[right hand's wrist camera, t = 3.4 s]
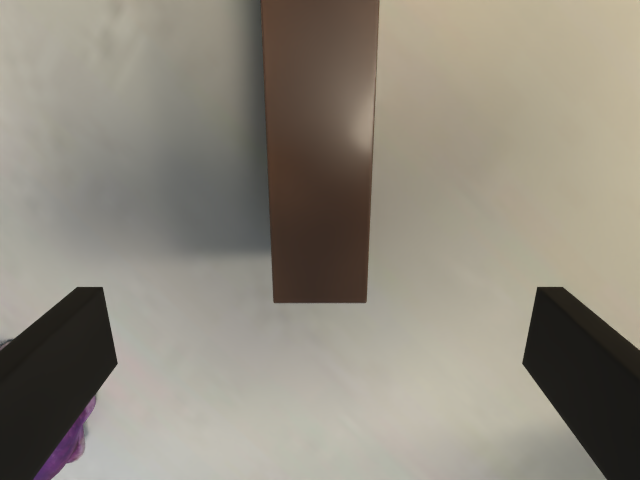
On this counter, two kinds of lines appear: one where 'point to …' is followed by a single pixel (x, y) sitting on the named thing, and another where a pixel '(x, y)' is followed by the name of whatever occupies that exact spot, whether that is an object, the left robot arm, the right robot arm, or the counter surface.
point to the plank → (319, 145)
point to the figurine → (66, 445)
